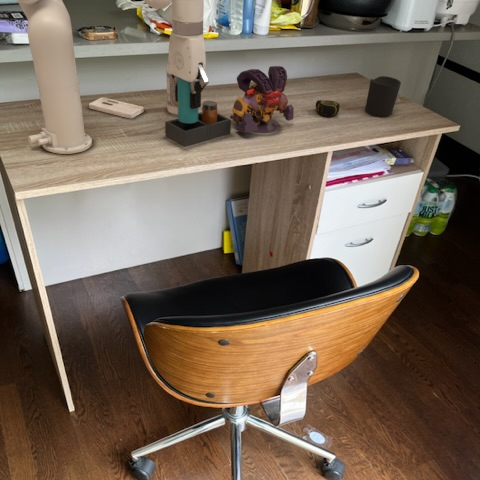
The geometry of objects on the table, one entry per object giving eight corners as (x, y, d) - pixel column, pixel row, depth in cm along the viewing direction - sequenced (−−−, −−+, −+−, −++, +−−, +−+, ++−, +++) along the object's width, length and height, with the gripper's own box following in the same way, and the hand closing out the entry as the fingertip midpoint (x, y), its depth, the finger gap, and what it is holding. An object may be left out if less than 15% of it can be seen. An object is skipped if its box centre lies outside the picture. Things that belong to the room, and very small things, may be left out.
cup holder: (184, 149, 141) (184, 132, 138) (165, 138, 145) (165, 121, 142) (230, 135, 150) (231, 119, 147) (210, 125, 154) (211, 109, 151)
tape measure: (335, 111, 171) (337, 99, 168) (339, 118, 166) (342, 106, 163) (314, 110, 170) (316, 98, 168) (318, 118, 165) (320, 105, 162)
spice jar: (208, 136, 147) (208, 107, 142) (198, 130, 149) (198, 102, 144) (219, 132, 149) (221, 104, 144) (209, 127, 152) (210, 99, 146)
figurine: (245, 143, 146) (250, 81, 135) (217, 125, 154) (220, 65, 143) (299, 130, 156) (308, 71, 145) (271, 115, 164) (277, 57, 153)
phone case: (88, 108, 158) (131, 119, 154) (87, 103, 157) (131, 114, 153) (102, 101, 163) (144, 111, 159) (102, 96, 162) (144, 106, 158)
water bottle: (186, 125, 139) (186, 63, 129) (174, 118, 142) (172, 57, 132) (202, 120, 142) (203, 60, 132) (189, 114, 145) (189, 54, 135)
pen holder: (395, 119, 169) (404, 86, 162) (366, 117, 168) (374, 84, 162) (389, 108, 176) (397, 77, 169) (361, 106, 176) (368, 75, 169)
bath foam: (174, 117, 157) (173, 44, 144) (163, 109, 161) (161, 37, 148) (194, 114, 160) (195, 42, 147) (183, 106, 164) (183, 35, 151)
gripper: (154, 21, 129) (157, 97, 141) (198, 38, 121) (197, 117, 133) (178, 18, 134) (179, 92, 146) (222, 34, 125) (219, 111, 137)
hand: (188, 103), depth 139 cm, fingers closed on water bottle, 5 cm apart
